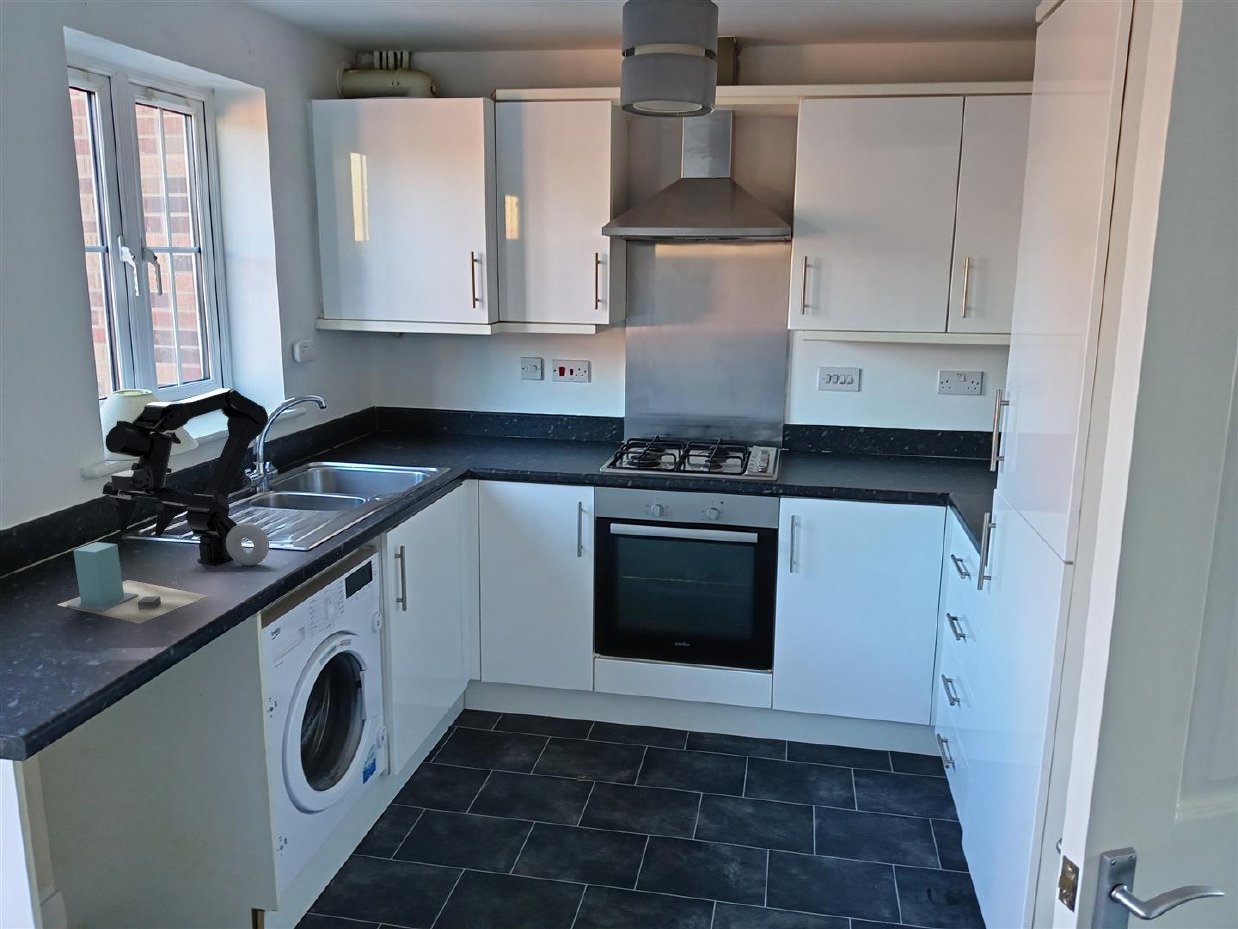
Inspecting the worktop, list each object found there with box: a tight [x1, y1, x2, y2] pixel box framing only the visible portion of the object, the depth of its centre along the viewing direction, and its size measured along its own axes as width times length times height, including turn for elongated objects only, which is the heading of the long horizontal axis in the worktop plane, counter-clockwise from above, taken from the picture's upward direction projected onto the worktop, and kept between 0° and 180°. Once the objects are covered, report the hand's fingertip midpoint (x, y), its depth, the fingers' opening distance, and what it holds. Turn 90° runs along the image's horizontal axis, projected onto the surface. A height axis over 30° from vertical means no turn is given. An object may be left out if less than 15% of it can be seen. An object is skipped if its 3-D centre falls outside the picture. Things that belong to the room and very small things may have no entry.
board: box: [56, 579, 209, 625], centre depth 189 cm, size 16×24×3 cm, turn 65°
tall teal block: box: [73, 541, 124, 606], centre depth 187 cm, size 5×5×11 cm
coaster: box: [66, 593, 139, 612], centre depth 188 cm, size 9×9×1 cm
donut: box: [226, 522, 270, 567], centre depth 213 cm, size 10×4×10 cm, turn 84°
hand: (139, 534), depth 198 cm, fingers open, 9 cm apart
